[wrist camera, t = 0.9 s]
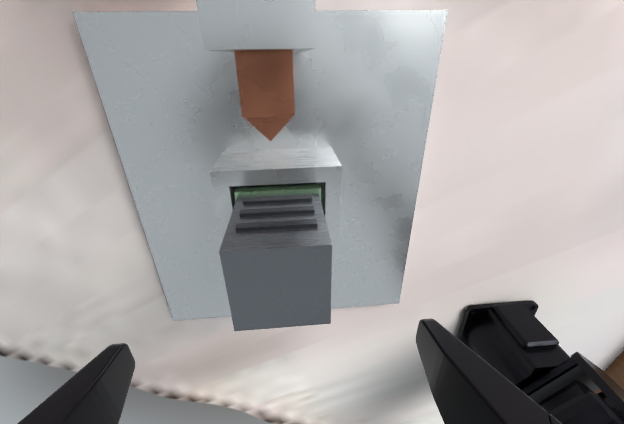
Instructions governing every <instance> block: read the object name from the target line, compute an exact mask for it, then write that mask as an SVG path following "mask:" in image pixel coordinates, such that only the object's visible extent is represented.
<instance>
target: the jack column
mask: <svg viewBox="0 0 624 424" xmlns="http://www.w3.org/2000/svg"><path fill="white" fill-rule="evenodd" d="M234 194H235V201H236V202H235V205H234V208H233V211H232V214H231V217H230V220H229V223H228V226H227V229H226V232H225V235H224V238H223V241H222V244H221V247H220V250H219V254H220V259H221V264H222V269H223V275H224V280H225V285H226V290H227V295H228V300H229V305H230V310H231V315H232V320H233V325H234V331H242V330H255V329H268V328H280V327H293V326H305V325H318V324H330V323H331V275H332V242H331V238H330V235H329V231H328V227H327V223H326V219H325V215H324V212H323V208H322V204H321V186H320V184H316V183H295V184H273V185H251V186H241V187H240V188H236V189H235V192H234Z"/></svg>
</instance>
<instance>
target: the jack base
mask: <svg viewBox="0 0 624 424" xmlns="http://www.w3.org/2000/svg"><path fill="white" fill-rule="evenodd" d="M196 2H197V8H198V11H151V12H73V15H74V18H75V21H76V24H77V27H78V30H79V33H80V36H81V39H82V42H83V46H84V49H85V52H86V55H87V58H88V61H89V64H90V67H91V70H92V73H93V76H94V79H95V82H96V85H97V88H98V91H99V94H100V97H101V101H102V104H103V107H104V110H105V113H106V116H107V119H108V122H109V125H110V128H111V131H112V134H113V137H114V140H115V143H116V146H117V149H118V152H119V156H120V159H121V162H122V165H123V168H124V171H125V174H126V177H127V180H128V183H129V186H130V189H131V192H132V195H133V198H134V201H135V204H136V207H137V211H138V214H139V217H140V220H141V223H142V226H143V229H144V232H145V235H146V238H147V241H148V244H149V247H150V250H151V253H152V256H153V259H154V262H155V266H156V269H157V272H158V275H159V278H160V281H161V284H162V287H163V290H164V293H165V296H166V299H167V302H168V305H169V308H170V311H171V314H172V317H173V320H186V319H199V318H212V317H225V316H232V315H231V310H230V305H229V300H228V295H227V290H226V285H225V280H224V275H223V269H222V264H221V259H220V254H219V250H220V247H221V244H222V241H223V238H224V235H225V232H226V229H227V226H228V223H229V220H230V217H231V214H232V211H233V208H234V205H235V202H236V201H235V194H234V192H235V189H236V188H240V187H241V186H251V185H273V184H295V183H316V184H320V186H321V204H322V208H323V212H324V215H325V219H326V223H327V227H328V231H329V235H330V238H331V242H332V275H331V308H344V307H357V306H370V305H383V304H397V303H399V300H400V294H401V288H402V282H403V276H404V270H405V264H406V258H407V252H408V246H409V240H410V234H411V228H412V222H413V216H414V210H415V204H416V198H417V192H418V186H419V180H420V174H421V168H422V162H423V156H424V150H425V144H426V138H427V132H428V126H429V120H430V114H431V108H432V102H433V96H434V90H435V84H436V78H437V72H438V66H439V60H440V54H441V48H442V42H443V36H444V30H445V24H446V18H447V12H448V10H340V11H315V0H196Z"/></svg>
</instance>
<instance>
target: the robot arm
mask: <svg viewBox="0 0 624 424" xmlns="http://www.w3.org/2000/svg"><path fill="white" fill-rule="evenodd" d="M537 309H538V305H537V304H536V303H535V302H534V301H521V302H508V303H495V304H482V305H472V306H469V307H468V308H467V309H466V312H465V315H464V319H463V322H462V325H461V328H460V331H459V334H458V338H456V337H455V336H454V335H453V334H451V333H450V332H449V331H448V330H446V329H445V328H444V327H443V326H442V325H440V324H439V323H438V322H437V321H435V320H434V319H422V320H420V321H419V325H418V330H417V334H416V344H417V347H418V350H419V354H420V357H421V360H422V363H423V366H424V370H425V373H426V376H427V379H428V382H429V386H430V389H431V392H432V394H433V397H434V400H435V402H436V404H437V407H438V409H439V411H440V414H441V416H442V419H443V421H444V423H445V424H624V390H623V389H622V388H621V387H620V386H619V385H618V384H617V383H616V382H615V381H614V380H613V379H612V378H611V377H610V376H609V375H608V374H606V373H605V372H604V371H603V370H601V369H600V368H599V367H597V366H596V365H595V364H593V363H592V362H591V361H589V360H588V359H586V358H585V357H584V356H582V355H581V354H580V353H578V352H576V353H574V354H572V355H571V358H570V357H569V356H568V355H567V354H566V353H565V351H564V350H563V349H562V348H561V347H560V346H559V345H558V344H559V342H558V340H557V339H556V338H555V337H554V336H553V335H552V334H551V333H550V332H549V331H548V330H547V329H546V328H545V327H544V326H543V325H542V324H541V323H540V322H539V321H538V319H537V318H536V317H535V316H534V315H535V313H536V311H537ZM134 369H135V360H134V358H133V356H132V354H131V351H130V349H129V347H128V345H127V344H125V343H122V344H112V345H110V346H108V347H107V348H106V349H105V350H103V351H102V352H101V353H100V354H99V355H98V356H96V357H95V358H94V359H93V360H92V361H91V362H89V363H88V364H87V365H86V366H85V367H84V368H82V369H81V370H80V371H79V372H78V373H77V374H75V375H74V376H73V377H72V378H71V379H69V380H68V381H67V382H66V383H65V384H64V385H62V386H61V387H60V388H59V389H58V390H57V391H55V392H54V393H53V394H52V395H51V396H50V397H48V398H47V399H46V400H45V401H44V402H43V403H42V404H40V405H39V406H38V407H37V408H35V409H34V410H33V411H32V412H31V413H30V414H29V415H27V416H26V417H25V418H24V419H23V420H21V421H20V422H19V423H18V424H118V423H119V419H120V417H121V413H122V410H123V406H124V403H125V399H126V396H127V393H128V389H129V386H130V383H131V379H132V376H133V372H134ZM598 389H600V390H601V391H602V392H600V393H598V394H597V393H594V392H595V391H596V390H598Z"/></svg>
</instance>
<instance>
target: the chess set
mask: <svg viewBox="0 0 624 424" xmlns="http://www.w3.org/2000/svg"><path fill="white" fill-rule="evenodd" d="M604 372H605V373H606V374H608V375H609V376H610V377H611V378H612V379H613V380H614V381H615V382H616V383H617V384H618V385H619V386H620V387H621V388H622V389H623V390H624V351H623V352H622V353H621V354H620V356H619V357H618V358H617V359H616V360H615V361H614V362H613V363H612V364H611V365H610V366H609V367H608V368H607V369H606V370H605V371H604ZM600 392H602V391H601V390H600V389H598V390H596V391H595V392H594V393H597V394H598V393H600Z"/></svg>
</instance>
